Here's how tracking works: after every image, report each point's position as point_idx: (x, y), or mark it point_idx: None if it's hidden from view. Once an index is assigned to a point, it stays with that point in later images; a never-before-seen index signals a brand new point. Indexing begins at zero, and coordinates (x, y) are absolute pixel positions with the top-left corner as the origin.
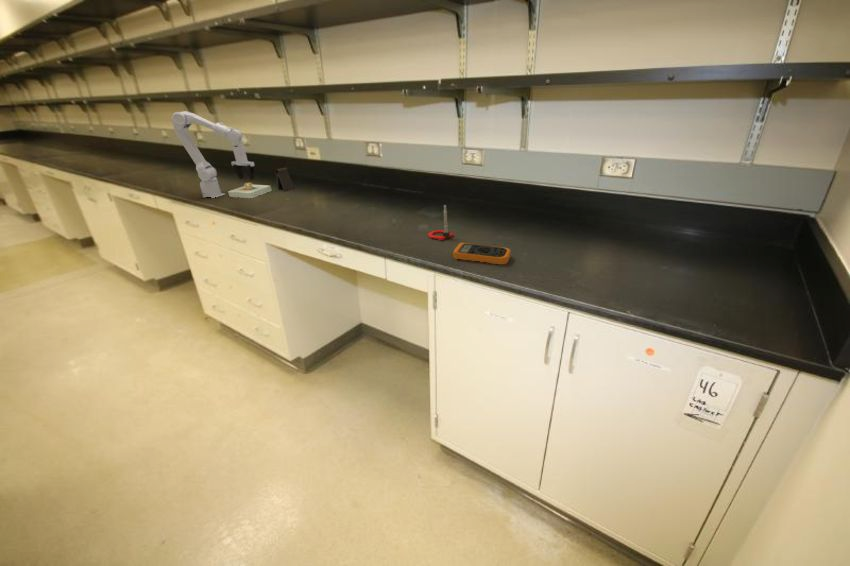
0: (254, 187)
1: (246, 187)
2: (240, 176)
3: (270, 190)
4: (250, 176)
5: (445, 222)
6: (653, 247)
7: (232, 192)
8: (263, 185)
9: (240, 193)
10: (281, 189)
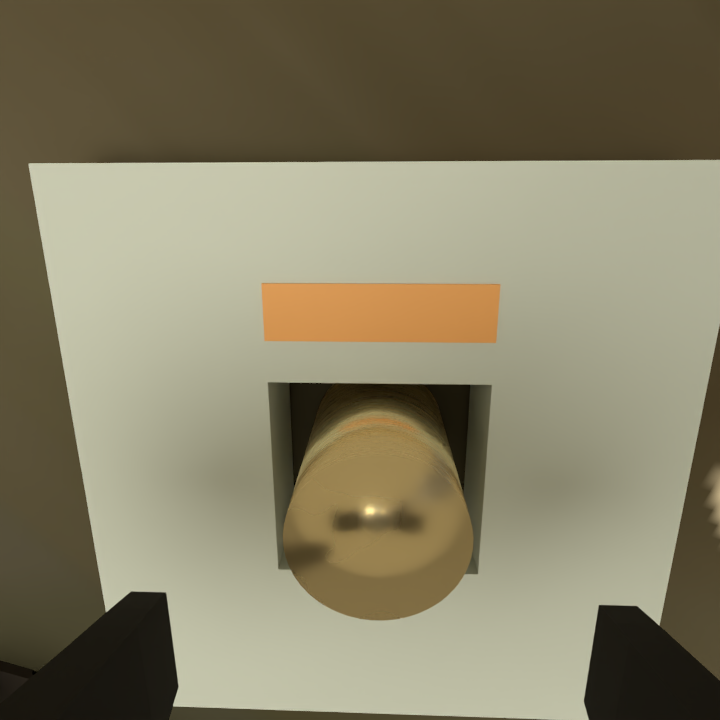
0: None
1: (365, 423)
2: (635, 694)
3: None
4: (40, 677)
5: None
6: None
7: (594, 163)
8: (272, 696)
9: (337, 164)
10: None
